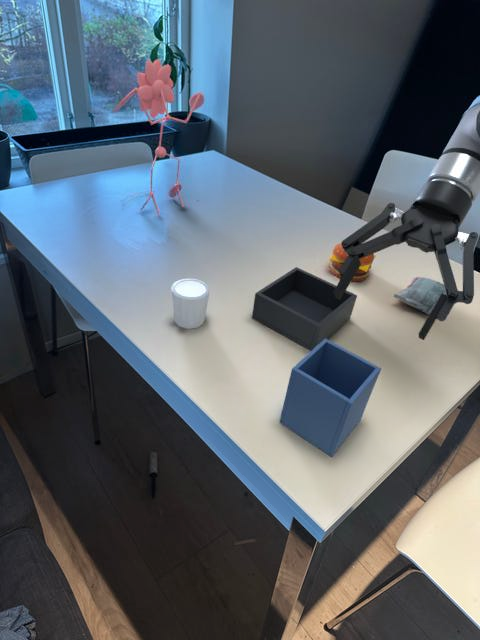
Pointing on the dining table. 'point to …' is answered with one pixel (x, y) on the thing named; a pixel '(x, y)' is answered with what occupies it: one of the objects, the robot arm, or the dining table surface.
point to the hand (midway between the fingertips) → (376, 316)
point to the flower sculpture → (159, 108)
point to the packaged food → (422, 294)
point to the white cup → (190, 302)
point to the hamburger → (339, 258)
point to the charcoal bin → (302, 308)
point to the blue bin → (328, 395)
